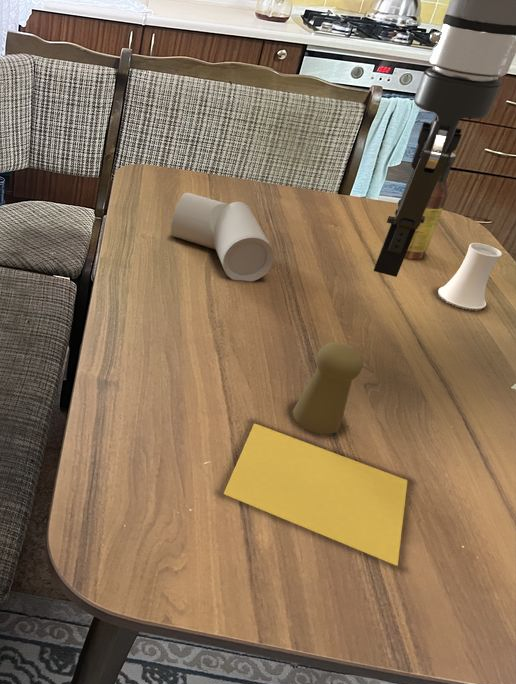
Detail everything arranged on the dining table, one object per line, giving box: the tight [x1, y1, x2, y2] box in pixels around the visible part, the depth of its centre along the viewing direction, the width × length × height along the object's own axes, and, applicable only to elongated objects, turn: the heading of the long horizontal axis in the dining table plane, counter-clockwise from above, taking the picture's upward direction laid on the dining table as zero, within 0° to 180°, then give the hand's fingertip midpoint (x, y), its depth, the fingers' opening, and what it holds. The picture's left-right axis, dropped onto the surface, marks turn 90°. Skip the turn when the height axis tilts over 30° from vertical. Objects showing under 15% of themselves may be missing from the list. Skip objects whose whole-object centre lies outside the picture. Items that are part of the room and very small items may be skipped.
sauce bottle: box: [404, 152, 457, 261], centre depth 127 cm, size 6×6×20 cm
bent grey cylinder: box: [170, 192, 275, 282], centre depth 121 cm, size 18×10×20 cm
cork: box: [292, 342, 364, 435], centre depth 84 cm, size 6×6×11 cm
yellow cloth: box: [223, 422, 408, 567], centre depth 77 cm, size 18×14×1 cm
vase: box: [437, 242, 503, 312], centre depth 115 cm, size 8×8×10 cm
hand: (385, 271), depth 85 cm, fingers closed
